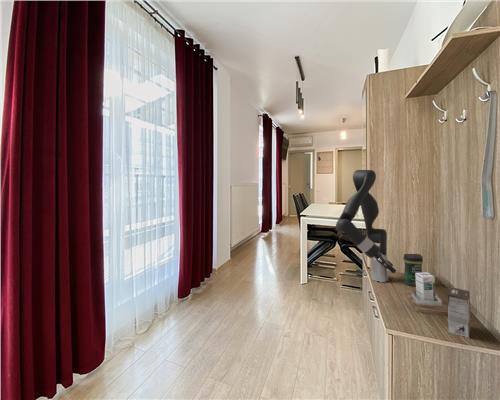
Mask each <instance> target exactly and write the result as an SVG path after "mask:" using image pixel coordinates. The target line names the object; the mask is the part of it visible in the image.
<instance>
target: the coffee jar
mask: <svg viewBox="0 0 500 400" xmlns="http://www.w3.org/2000/svg"><path fill="white" fill-rule="evenodd" d="M423 259H424V258H423V255H421V254H419V253H404V255H403V259H402V260H403V263H404V274H403V283H404V284H405V285H408V286H410V287H416V275H415V273H423V269H422V267H423V263H424V260H423Z"/></svg>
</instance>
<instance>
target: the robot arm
mask: <svg viewBox="0 0 500 400" xmlns="http://www.w3.org/2000/svg"><path fill="white" fill-rule="evenodd" d="M376 179H377V174H376V172H375V171H374V170H373V169H357V170H355V171H354V172H353V174H352V182H353V185H354V188H355V190H356V192H355V193H354V194H353V195H352V196H351V197H350V198H349V199H348V200H347V201H346V203H345V206H344V208H343V209H342V213H341V215H340V216H339V218H338V220H337V221H336V224H335V229H336V231H337V232H338V233H342V234H344V233H345V235H346V236H347V237H348V239H349V241H351V243H353V244H354V245H355V246H356V247H357V248H358V249H359V250H360V251H361V252H363V254H364V255H366V256H367V257H368V258H369V259H370V272H371V280H372V281H374V280H375V281H374V282H377V281H379V282H378V283H386V281H387V282H388V279H389V278H388V271H390V273H391V274H394V273H396V272H397V270H396V269H395V267H393V266H394V264H393V263H392V262H391V261H389V260H388V252H387V251H388V250H387V249H388V247H387V245H388V244H387V243H388V234H387V230H386V229H383V228H374V227H373V224H374V222H375V221H376V219H377V218H378V215H379V213H380V210H379V205H378V202H377V200H376V198H375V197H374V196H373V195H372V194H371V192H370V190H371V189H372V187H373V186H374V184H375V183H376ZM360 208H361V213H362V216H363V221H364V224H365V225H364V226H365V232H366V235H365V234H363V233H362V232H361V231H360V230H359V229H358V228H357V226H356V225H355V223H353V222H352V221H353V219H355V217H356V216H357V213H358V211H359V209H360ZM377 244H379V245H377Z"/></svg>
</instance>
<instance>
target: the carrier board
mask: <svg viewBox="0 0 500 400" xmlns="http://www.w3.org/2000/svg"><path fill="white" fill-rule="evenodd" d="M412 291H413V290H411V291H410V290H406V291H405V293H406V295H407V298H408V299H409V301H410V302H411V305H412V306H413V308H414V310H415V311H416V312H417V313H426V314H433V315H441V316H442V315H443V316H448V304H446V302H445V301H444V300H443V299H442V297H440V295H439V294H438V293H435V294H436V296H437V297H438V298H439V299H440V300H441V302H442V308H432V307H423V306H417V305H416V303H415V301H414V300H413V298H412Z"/></svg>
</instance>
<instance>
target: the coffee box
mask: <svg viewBox="0 0 500 400" xmlns="http://www.w3.org/2000/svg"><path fill="white" fill-rule="evenodd" d="M470 300H471V299H470V291H469V290H466V289H463V288H462V289H460V288H456V287H452V286H451V287H449V290H448V293H447V306H448V315H447V317H448V333H450V334H453V335H456V336H459V335H461V336H460V337H462V336H465V337H464V338H466V337H468V338H467V339H470V335H471V333H470V332H471V306H470V305H471V304H470V303H471V301H470Z"/></svg>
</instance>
